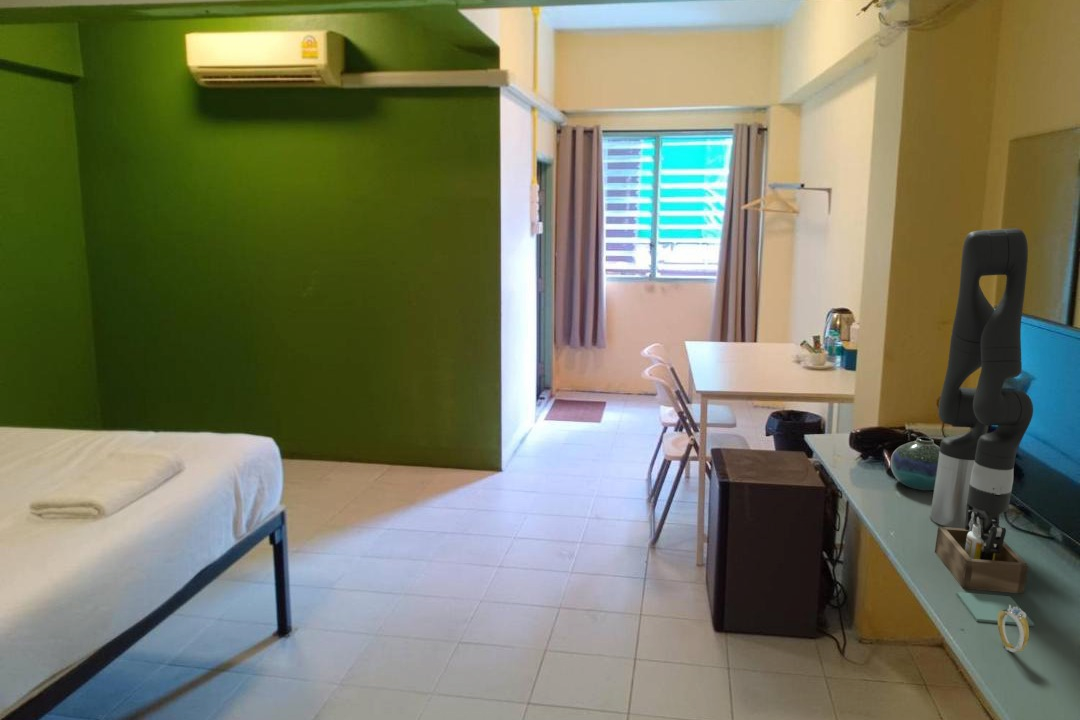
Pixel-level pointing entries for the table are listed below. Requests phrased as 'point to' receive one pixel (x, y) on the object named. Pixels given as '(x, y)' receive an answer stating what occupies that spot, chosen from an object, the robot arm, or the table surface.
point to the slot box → (980, 564)
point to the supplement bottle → (974, 543)
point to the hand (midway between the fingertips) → (978, 560)
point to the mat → (989, 607)
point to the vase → (916, 463)
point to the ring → (1023, 631)
